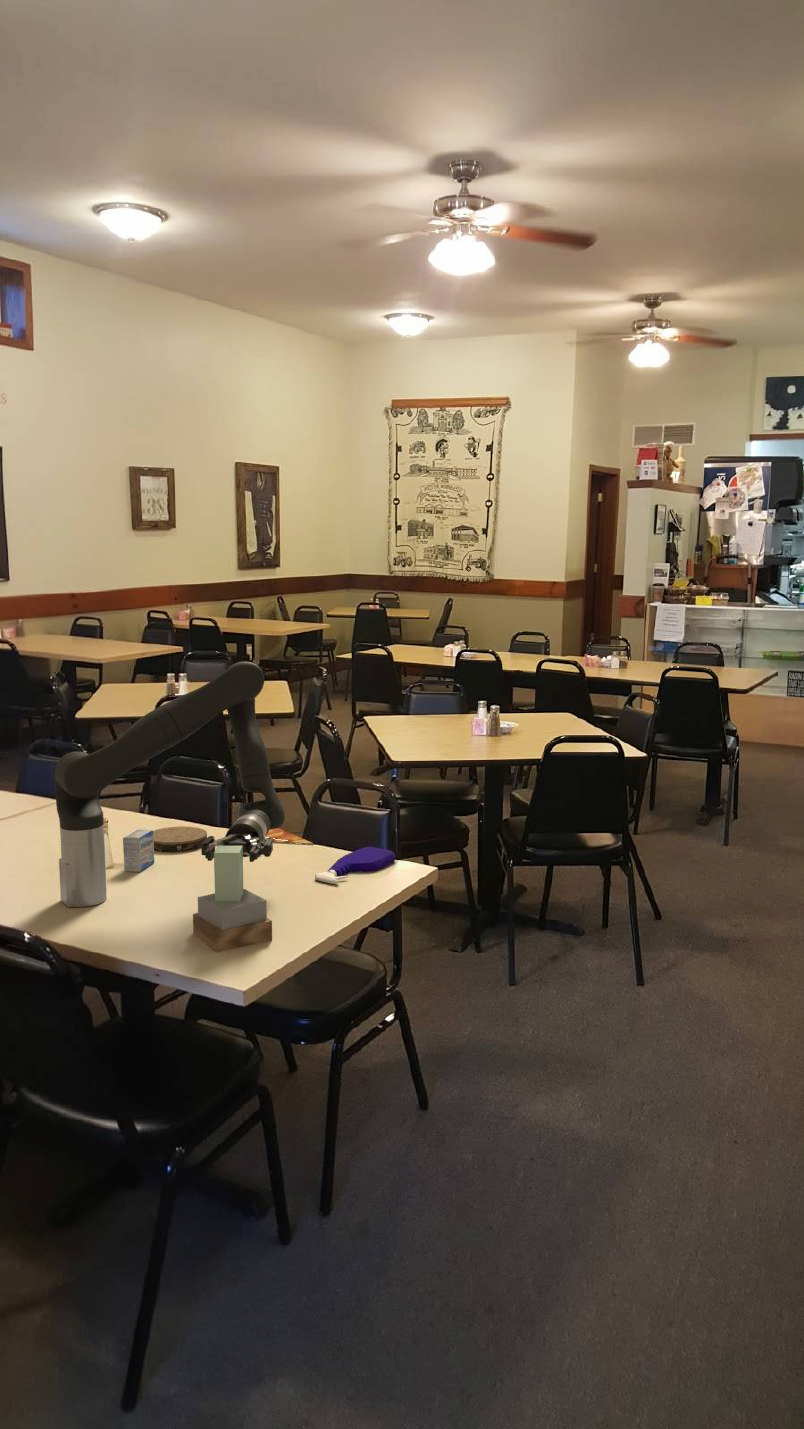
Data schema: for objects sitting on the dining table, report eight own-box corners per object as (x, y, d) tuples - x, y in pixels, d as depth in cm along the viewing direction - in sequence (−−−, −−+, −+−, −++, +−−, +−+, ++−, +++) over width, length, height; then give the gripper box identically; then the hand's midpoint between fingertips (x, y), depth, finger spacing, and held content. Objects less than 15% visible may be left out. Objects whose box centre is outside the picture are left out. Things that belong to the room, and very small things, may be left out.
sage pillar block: (215, 901, 201) (213, 852, 199) (218, 893, 206) (217, 845, 204) (240, 901, 201) (239, 852, 199) (243, 893, 206) (242, 845, 204)
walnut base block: (215, 954, 196) (215, 932, 195) (193, 934, 206) (192, 913, 205) (272, 942, 202) (272, 921, 201) (247, 924, 212) (247, 903, 211)
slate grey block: (222, 930, 196) (222, 910, 195) (198, 916, 204) (197, 897, 203) (266, 919, 202) (266, 900, 202) (241, 905, 210) (241, 887, 209)
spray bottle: (364, 844, 261) (304, 870, 240) (399, 851, 255) (341, 878, 235) (364, 855, 261) (304, 881, 241) (399, 863, 255) (341, 890, 235)
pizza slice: (261, 856, 260) (261, 848, 260) (222, 837, 278) (222, 830, 278) (313, 846, 269) (313, 839, 269) (272, 828, 287) (272, 821, 287)
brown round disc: (142, 840, 274) (142, 829, 273) (201, 834, 280) (200, 824, 279) (151, 856, 259) (150, 845, 259) (212, 849, 265) (212, 838, 265)
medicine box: (140, 872, 245) (139, 838, 243) (123, 871, 245) (122, 837, 244) (154, 863, 252) (153, 829, 251) (138, 862, 253) (137, 828, 252)
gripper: (214, 817, 218) (194, 837, 202) (279, 818, 217) (265, 839, 201) (214, 850, 219) (195, 873, 203) (279, 852, 218) (265, 875, 202)
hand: (230, 856), depth 202 cm, fingers open, 8 cm apart
